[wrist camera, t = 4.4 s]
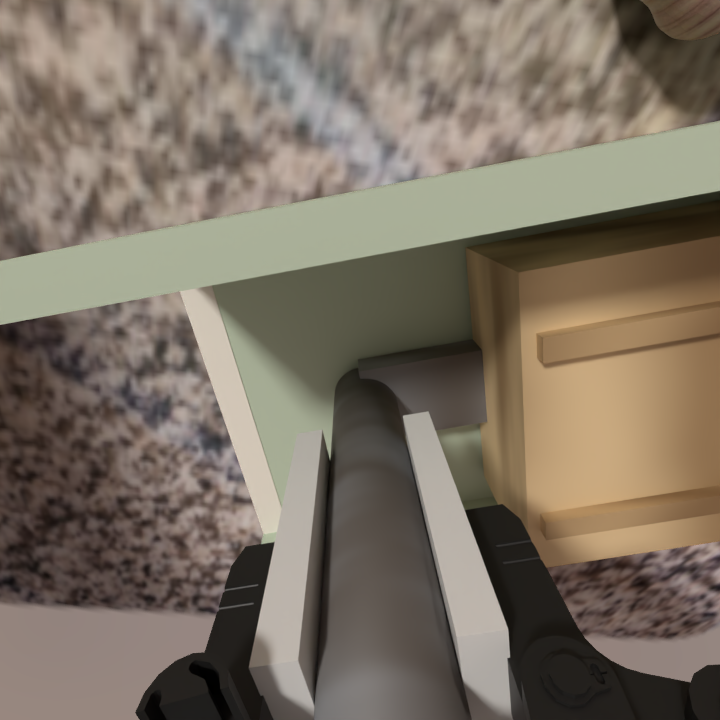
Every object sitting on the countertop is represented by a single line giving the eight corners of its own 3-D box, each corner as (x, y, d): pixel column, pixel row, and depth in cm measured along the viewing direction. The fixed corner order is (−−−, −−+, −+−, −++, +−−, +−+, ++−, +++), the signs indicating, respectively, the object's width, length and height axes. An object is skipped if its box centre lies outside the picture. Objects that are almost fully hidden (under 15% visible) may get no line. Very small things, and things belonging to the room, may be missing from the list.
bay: (271, 539, 21) (220, 773, 12) (165, 227, 15) (-55, 271, 7) (724, 466, 20) (997, 666, 12) (788, 107, 14) (1406, -11, 6)
